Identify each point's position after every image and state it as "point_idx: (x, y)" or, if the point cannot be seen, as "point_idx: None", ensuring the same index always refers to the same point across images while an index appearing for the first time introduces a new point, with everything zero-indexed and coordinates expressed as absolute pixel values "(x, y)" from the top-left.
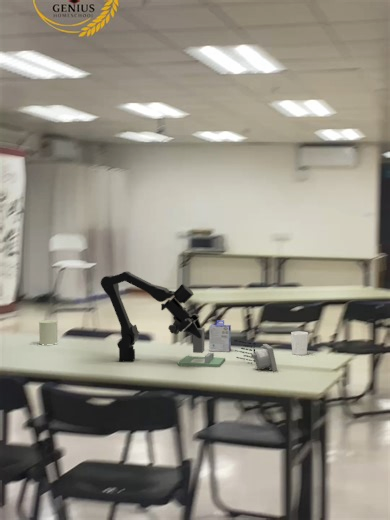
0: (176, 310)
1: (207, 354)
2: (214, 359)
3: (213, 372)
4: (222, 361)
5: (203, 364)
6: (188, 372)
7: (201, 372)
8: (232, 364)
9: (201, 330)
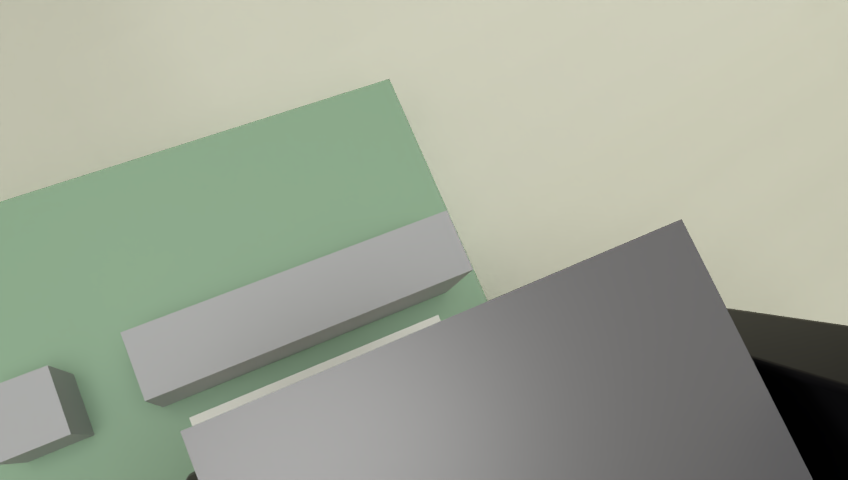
0: None
1: (308, 320)
2: (109, 320)
3: (649, 25)
4: (133, 164)
5: (481, 291)
6: (837, 267)
7: (737, 139)
8: (114, 29)
9: (681, 251)
